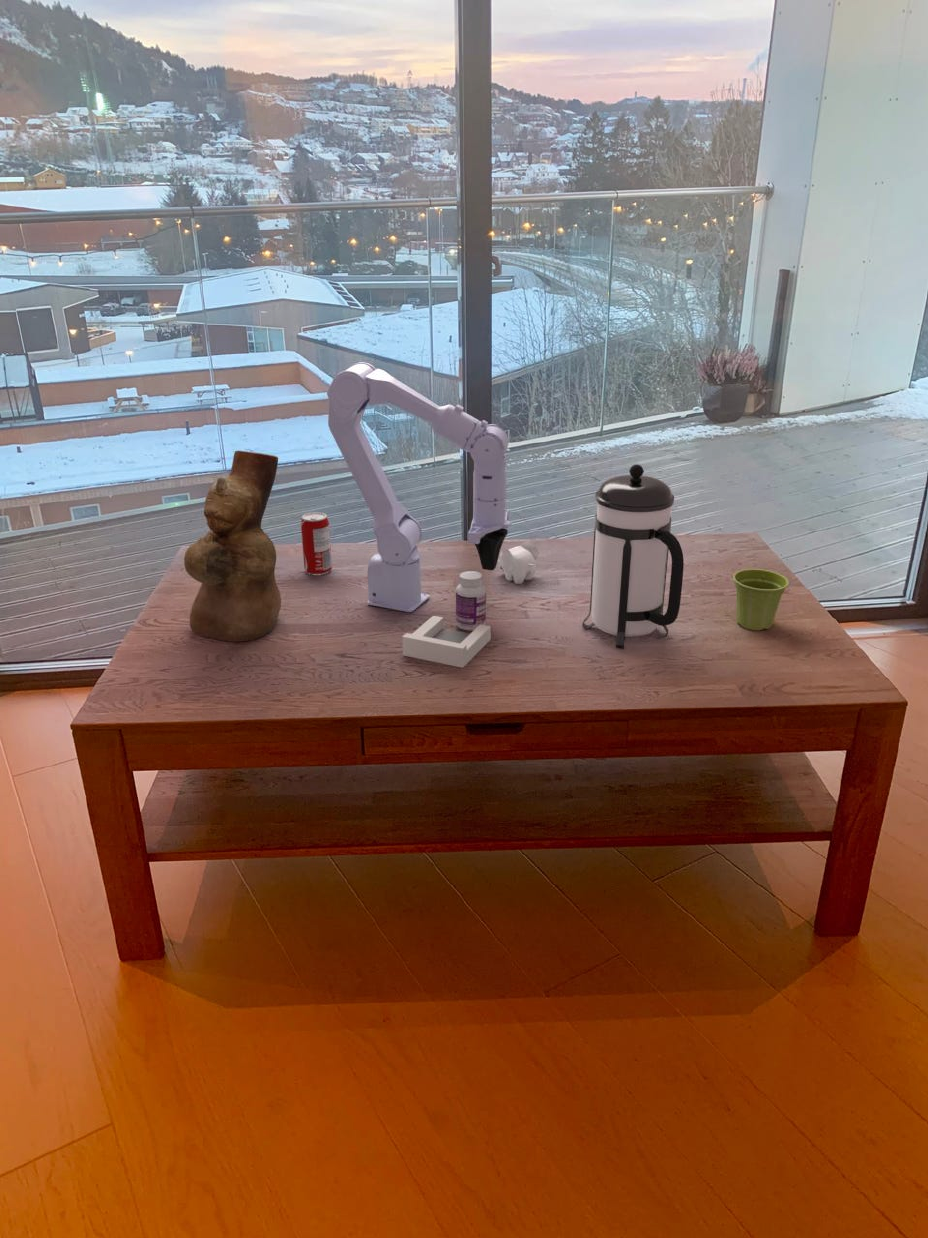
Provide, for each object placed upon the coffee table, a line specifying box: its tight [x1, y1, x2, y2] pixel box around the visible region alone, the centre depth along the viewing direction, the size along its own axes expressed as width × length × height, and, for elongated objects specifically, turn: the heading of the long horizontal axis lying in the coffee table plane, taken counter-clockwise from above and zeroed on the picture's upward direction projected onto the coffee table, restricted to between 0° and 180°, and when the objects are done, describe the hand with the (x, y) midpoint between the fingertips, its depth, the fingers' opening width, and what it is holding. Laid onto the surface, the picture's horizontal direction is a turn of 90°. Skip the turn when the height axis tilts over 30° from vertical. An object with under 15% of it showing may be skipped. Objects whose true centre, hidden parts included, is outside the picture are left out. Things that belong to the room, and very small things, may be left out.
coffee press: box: [582, 464, 685, 650], centre depth 159 cm, size 17×16×30 cm
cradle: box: [401, 615, 492, 669], centre depth 160 cm, size 11×12×4 cm
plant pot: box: [732, 568, 790, 631], centre depth 167 cm, size 9×9×9 cm
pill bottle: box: [455, 570, 487, 632], centre depth 167 cm, size 5×5×10 cm
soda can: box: [300, 511, 333, 576], centre depth 190 cm, size 6×6×12 cm
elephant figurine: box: [497, 540, 540, 585], centre depth 187 cm, size 8×10×7 cm
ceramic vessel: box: [183, 450, 282, 643], centre depth 165 cm, size 16×22×30 cm
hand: (488, 568), depth 172 cm, fingers closed
